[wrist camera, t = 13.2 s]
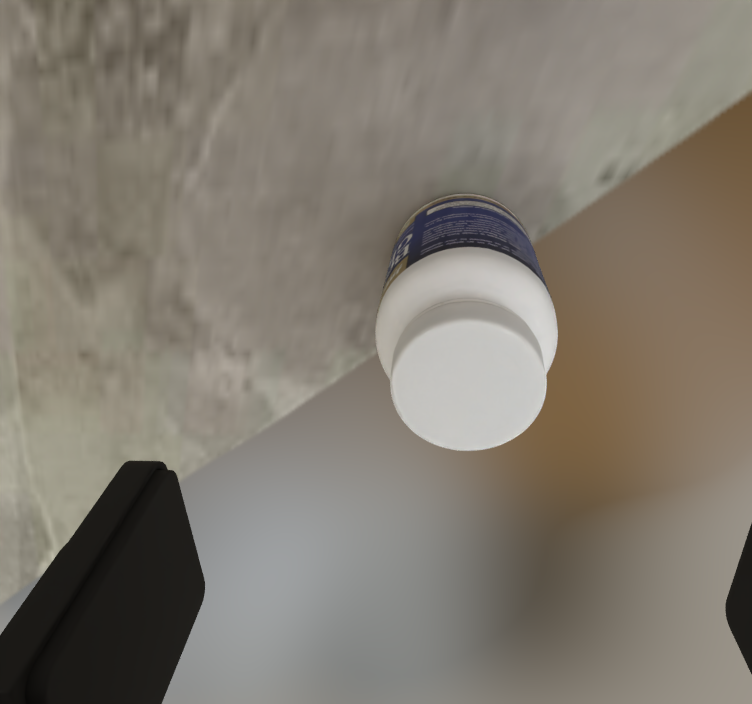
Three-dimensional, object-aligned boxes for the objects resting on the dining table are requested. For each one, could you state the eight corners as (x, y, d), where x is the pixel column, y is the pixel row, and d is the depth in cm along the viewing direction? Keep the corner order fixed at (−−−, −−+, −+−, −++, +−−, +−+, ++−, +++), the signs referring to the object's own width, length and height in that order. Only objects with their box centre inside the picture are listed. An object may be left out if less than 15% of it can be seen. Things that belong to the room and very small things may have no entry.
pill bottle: (389, 192, 23) (354, 292, 15) (534, 188, 23) (588, 288, 14) (395, 322, 26) (369, 472, 17) (526, 321, 25) (567, 475, 16)
